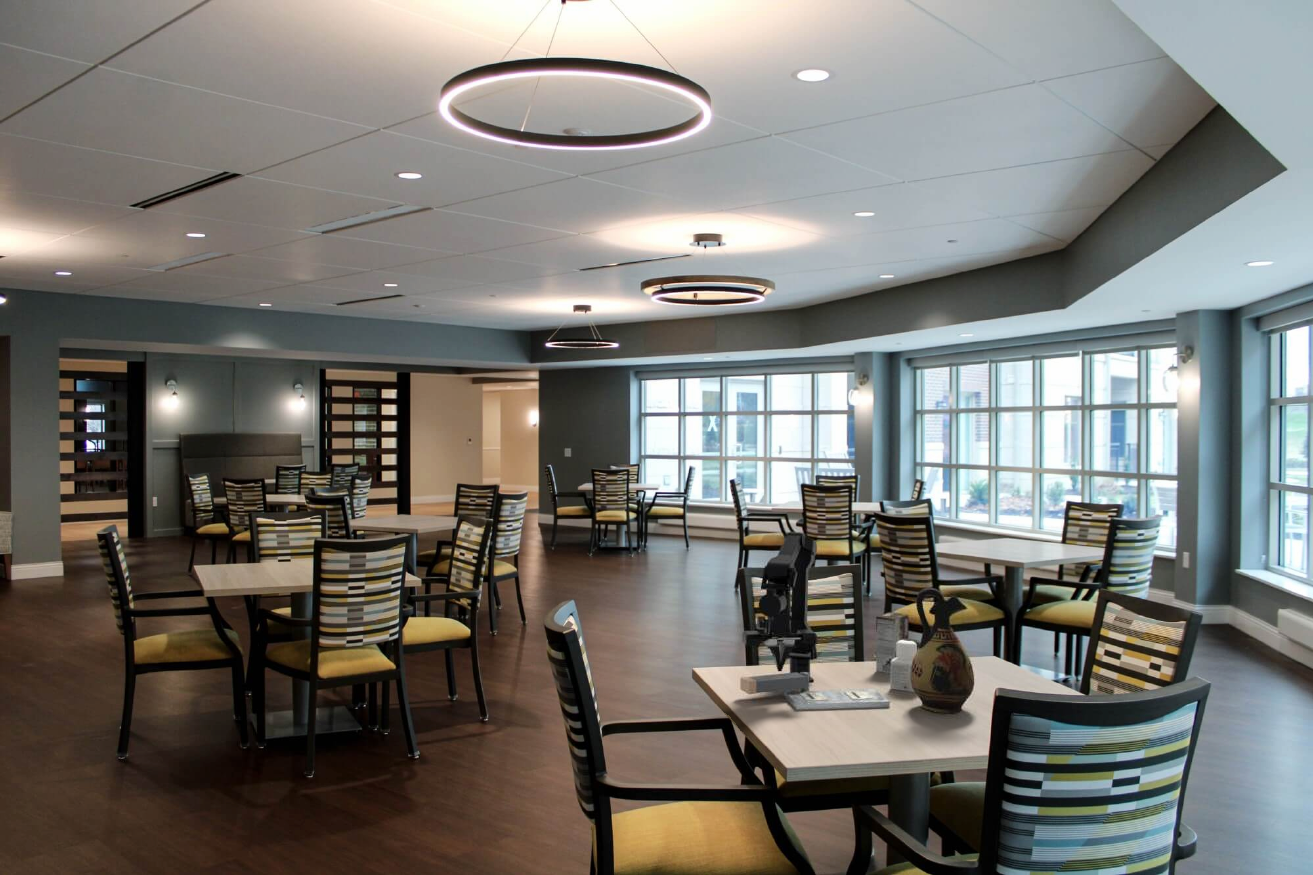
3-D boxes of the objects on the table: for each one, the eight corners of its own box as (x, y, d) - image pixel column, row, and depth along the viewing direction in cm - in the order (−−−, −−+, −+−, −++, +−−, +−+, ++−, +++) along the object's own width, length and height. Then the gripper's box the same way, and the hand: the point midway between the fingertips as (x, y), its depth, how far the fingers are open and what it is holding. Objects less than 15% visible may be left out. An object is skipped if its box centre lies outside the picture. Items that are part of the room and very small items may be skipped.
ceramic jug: (972, 702, 246) (972, 585, 246) (975, 719, 231) (976, 595, 231) (904, 697, 251) (904, 583, 251) (903, 713, 236) (903, 591, 236)
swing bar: (803, 690, 257) (803, 670, 257) (813, 695, 252) (813, 674, 252) (740, 696, 250) (740, 676, 250) (749, 701, 245) (749, 680, 245)
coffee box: (889, 665, 286) (889, 611, 287) (909, 668, 282) (909, 614, 282) (875, 671, 279) (875, 615, 279) (895, 674, 275) (895, 618, 275)
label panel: (784, 697, 250) (784, 690, 250) (873, 694, 253) (873, 688, 253) (796, 710, 239) (796, 702, 239) (889, 707, 241) (889, 700, 241)
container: (898, 682, 266) (898, 636, 266) (926, 686, 262) (926, 639, 262) (890, 689, 259) (890, 640, 259) (918, 692, 255) (918, 644, 255)
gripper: (806, 604, 257) (806, 663, 256) (737, 605, 254) (737, 664, 254) (818, 611, 245) (818, 673, 245) (746, 613, 243) (746, 674, 243)
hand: (779, 671), depth 247 cm, fingers closed
